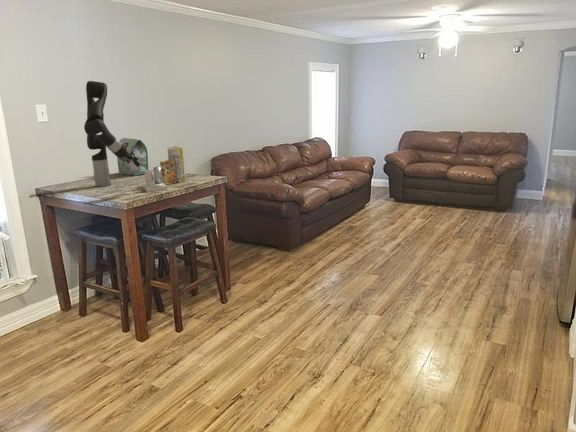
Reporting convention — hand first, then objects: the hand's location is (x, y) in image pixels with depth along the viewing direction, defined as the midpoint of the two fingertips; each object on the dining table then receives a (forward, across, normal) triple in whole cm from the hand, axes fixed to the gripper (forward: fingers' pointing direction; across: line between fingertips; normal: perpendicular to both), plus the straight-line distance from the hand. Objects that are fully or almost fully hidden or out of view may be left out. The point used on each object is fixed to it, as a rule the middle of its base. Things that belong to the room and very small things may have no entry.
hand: (136, 165), depth 264 cm
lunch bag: (+44, +62, -20) cm, 79 cm away
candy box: (+33, +6, -9) cm, 35 cm away
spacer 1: (+2, 0, +4) cm, 5 cm away
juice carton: (+39, +7, -15) cm, 42 cm away
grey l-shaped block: (+21, +2, +3) cm, 21 cm away
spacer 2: (+20, 0, -1) cm, 20 cm away
